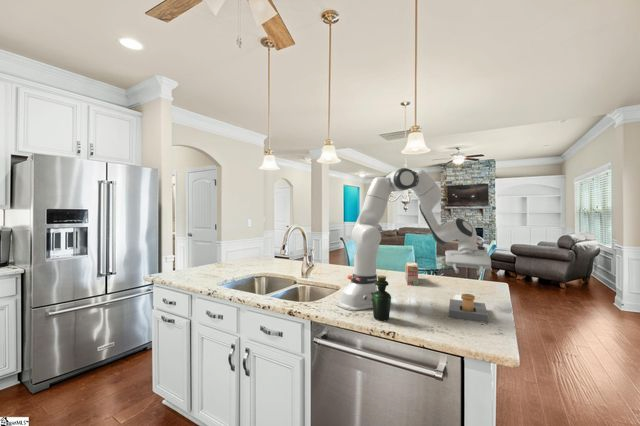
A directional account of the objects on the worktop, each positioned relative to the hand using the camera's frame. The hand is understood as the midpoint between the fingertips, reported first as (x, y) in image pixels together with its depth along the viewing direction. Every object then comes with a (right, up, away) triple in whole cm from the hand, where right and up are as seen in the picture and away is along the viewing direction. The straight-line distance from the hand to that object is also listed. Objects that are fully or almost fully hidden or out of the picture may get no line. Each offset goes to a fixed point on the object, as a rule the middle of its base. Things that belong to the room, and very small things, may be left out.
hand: (467, 273), depth 145 cm
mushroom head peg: (-5, -17, -10) cm, 20 cm away
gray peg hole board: (-4, -17, -7) cm, 18 cm away
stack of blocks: (-12, -16, +52) cm, 55 cm away
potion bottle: (-44, -16, -15) cm, 49 cm away
